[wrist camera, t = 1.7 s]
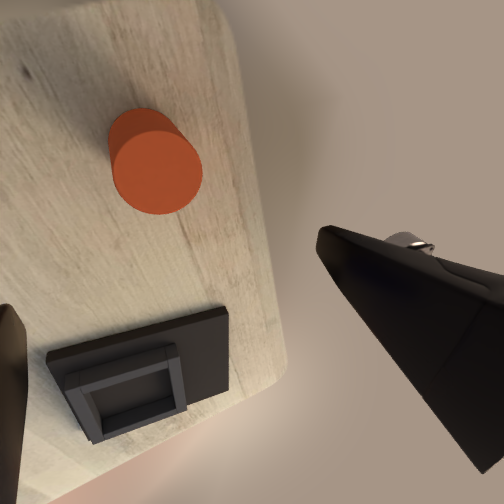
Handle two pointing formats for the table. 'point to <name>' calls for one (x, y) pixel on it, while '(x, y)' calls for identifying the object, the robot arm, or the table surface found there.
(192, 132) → the table surface
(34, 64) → the table surface
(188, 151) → the orange cylinder
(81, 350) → the base pad
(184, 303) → the table surface
